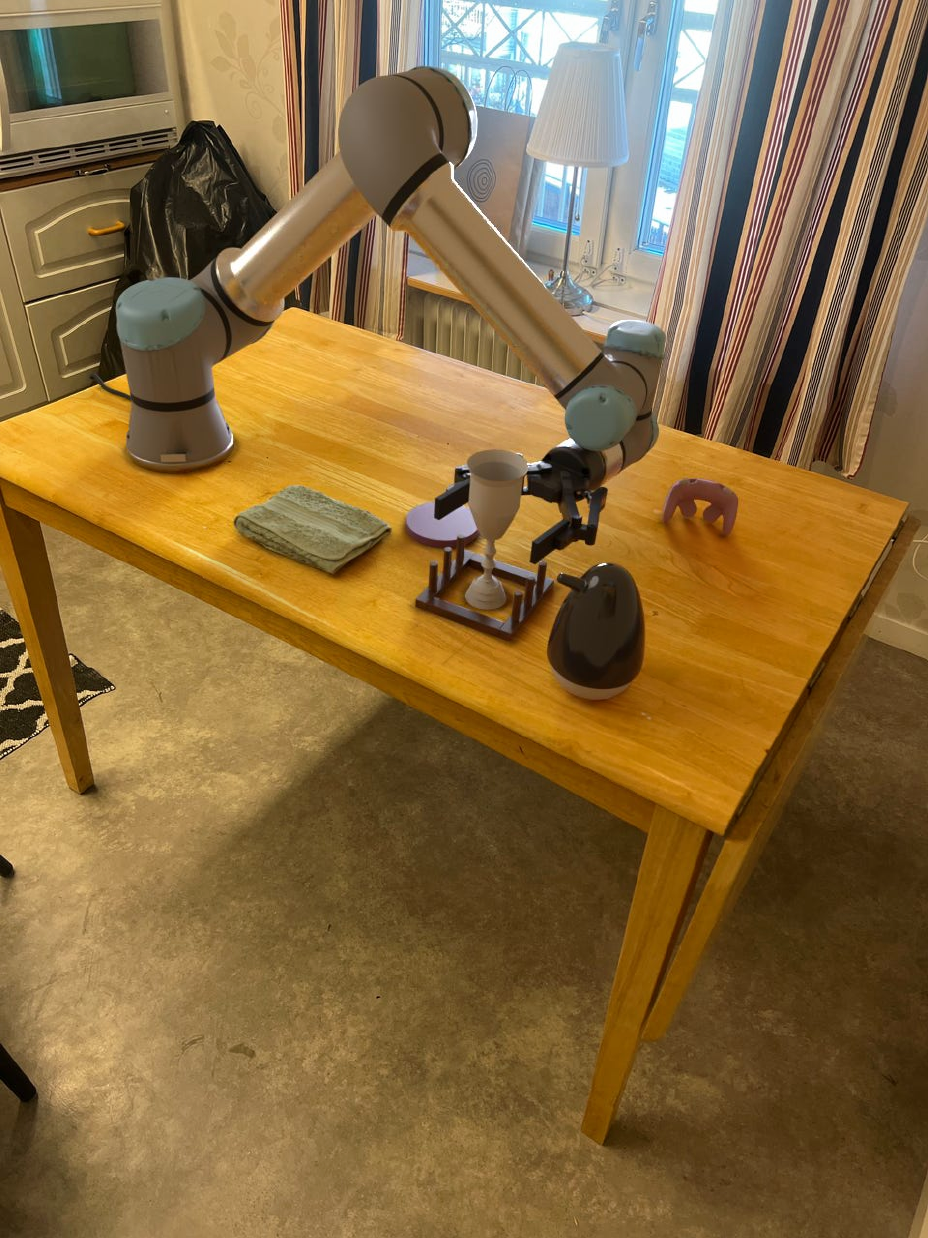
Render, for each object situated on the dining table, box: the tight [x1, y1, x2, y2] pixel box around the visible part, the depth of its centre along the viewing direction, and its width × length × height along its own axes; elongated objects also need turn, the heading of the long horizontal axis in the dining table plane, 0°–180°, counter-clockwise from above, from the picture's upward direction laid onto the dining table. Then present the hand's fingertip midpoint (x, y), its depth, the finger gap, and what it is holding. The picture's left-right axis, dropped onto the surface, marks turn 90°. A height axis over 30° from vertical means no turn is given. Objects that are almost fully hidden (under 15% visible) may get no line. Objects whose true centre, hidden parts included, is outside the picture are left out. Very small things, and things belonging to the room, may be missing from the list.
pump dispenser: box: [546, 562, 646, 701], centre depth 92 cm, size 10×10×15 cm
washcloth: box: [232, 484, 392, 575], centre depth 115 cm, size 13×18×3 cm
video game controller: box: [662, 477, 739, 537], centre depth 124 cm, size 10×5×7 cm, turn 71°
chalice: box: [464, 449, 529, 611], centre depth 103 cm, size 7×7×18 cm
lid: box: [405, 501, 480, 549], centre depth 120 cm, size 10×10×1 cm
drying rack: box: [414, 534, 555, 643], centre depth 107 cm, size 13×13×5 cm
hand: (483, 530), depth 100 cm, fingers open, 13 cm apart
